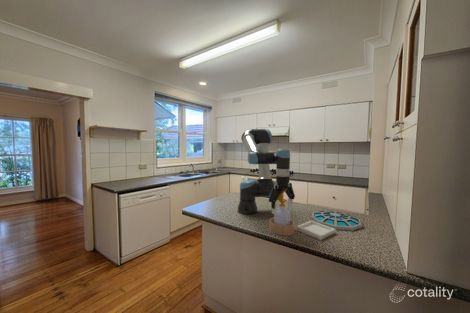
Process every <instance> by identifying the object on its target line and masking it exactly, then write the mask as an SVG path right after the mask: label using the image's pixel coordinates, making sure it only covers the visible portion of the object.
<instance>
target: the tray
mask: <svg viewBox="0 0 470 313" xmlns="http://www.w3.org/2000/svg"><path fill="white" fill-rule="evenodd" d="M296 231H297V232H300V233H302V234H304V235H306V236H308V237H311V238H314V239H315V240H318V241H319V242H320V241H323V240H325V239H326V238H329V237H330V236H333V235H335V234H336V230H335V229H334V228H331V227H328V226H325V225H323V224H320V223H317V222H315V221H313V220H309V221H307V222H304V223H302V224H299V225H296Z"/></svg>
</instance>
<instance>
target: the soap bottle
mask: <svg viewBox="0 0 470 313" xmlns="http://www.w3.org/2000/svg"><path fill="white" fill-rule="evenodd" d="M286 190H287V189H284V190H283V191H282V193H280V195H279V197H278V199H277V201H278V202H280V204H278V205H279V206H278V208H276V215H275V214H273V218H274V224H276V225H281V226H289V225H290V219H291V212H290V210H289V209H287V208H286V205H285V204H286V202H288V199H285V198H284V193H285V191H286ZM278 191H279V190H278ZM284 203H285V204H284Z"/></svg>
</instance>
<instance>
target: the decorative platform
mask: <svg viewBox="0 0 470 313" xmlns="http://www.w3.org/2000/svg"><path fill="white" fill-rule="evenodd" d="M311 214H312V215H311V216H310V221H314V222H317V223H320V224H323V225H325V226H328V227H331V228H334V229H335V231H352V232H353V231H355V230H359V229H362V228H363V226H364V225H363V223H362V222H361V219H360V218H357V217H354V216H352V215H351V214H348V213H343V212H341V211H340V212H339V211H336V210H334V211H332V210H318V211H314V212H312V213H311Z"/></svg>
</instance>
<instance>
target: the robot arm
mask: <svg viewBox="0 0 470 313" xmlns="http://www.w3.org/2000/svg"><path fill="white" fill-rule="evenodd" d="M240 139H241V142H242V144H243V145H244V146H245V147H246V150H247V152H248V154H247V162H248V164H250V165H257V166H258V178H257V179H245V180H242V181H240V183H239V202H238V205H237V212H238V213H239V212H240V213H239V214H242V213H243V214H244V215H253V214H254V215H255V214H257V213H258V209H259V208H258V206H257V202H256V198H269V199H268V202H269V203H271V214H272V215H274V214H275V215H276V210H277V201H278V200H277V199H278V197H279V195H280V193H282V191H283V190H284V189H287V190H286V191H285V192H284V193H285V194H286V196H287V208H286V210H288V211H292V210H293V200H294V199H295V197H296V194H295V192H294V189H293V183H292V182H290V178H291V177H290V169H291V167H290V166H291V151H290V149H283V148H282V149H281V148H279V149H277V150H276V151H272V152H271V151H270V152H269V147H270V146H271V144H272V141H273V135H272V132H271V130H270V129H266V128H249V129H247V130H245V131H244V132H243V133H242V134H241V138H240ZM270 165H276V168H275V169H276V170H275V172H276V173H275V174H276V177H275V181H273V178H272V177H271V171H270ZM256 180H257V181H256ZM278 190H279V191H278Z"/></svg>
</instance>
